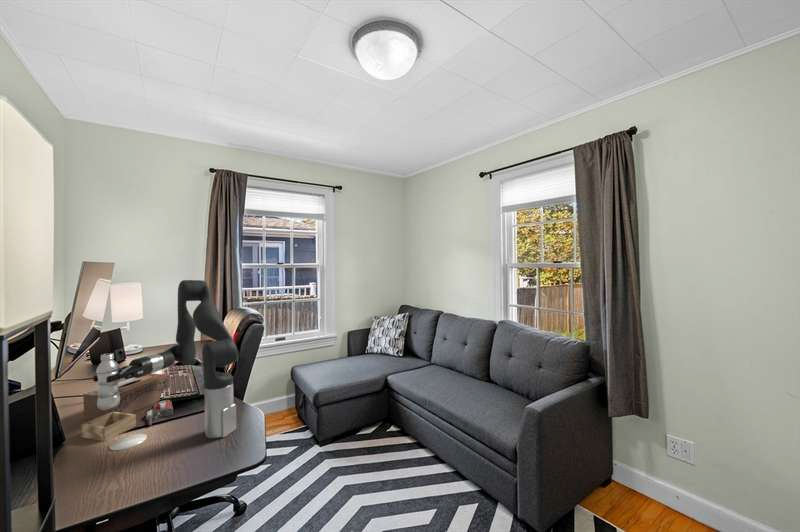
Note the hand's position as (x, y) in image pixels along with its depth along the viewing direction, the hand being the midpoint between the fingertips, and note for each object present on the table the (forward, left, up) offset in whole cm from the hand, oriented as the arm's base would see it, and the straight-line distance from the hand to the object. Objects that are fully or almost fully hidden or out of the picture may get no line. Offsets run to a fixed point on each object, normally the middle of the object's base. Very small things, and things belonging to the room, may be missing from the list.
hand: (100, 379), depth 119 cm
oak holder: (0, -3, -20) cm, 20 cm away
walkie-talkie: (-6, -17, -21) cm, 28 cm away
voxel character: (+29, -41, -20) cm, 55 cm away
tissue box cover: (+16, -21, -21) cm, 34 cm away
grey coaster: (-15, +1, -20) cm, 25 cm away
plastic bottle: (0, -2, -12) cm, 12 cm away
